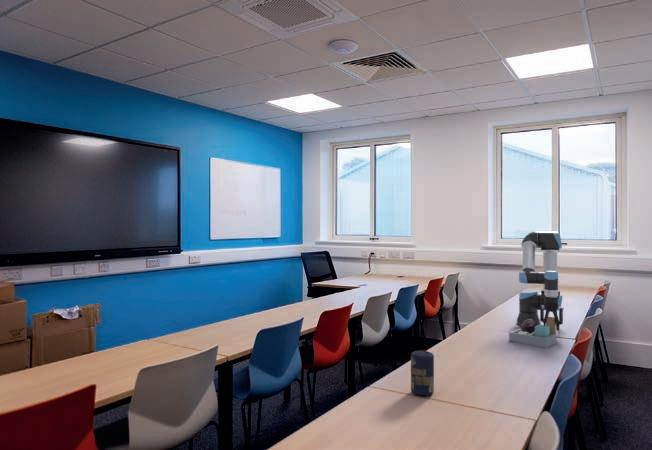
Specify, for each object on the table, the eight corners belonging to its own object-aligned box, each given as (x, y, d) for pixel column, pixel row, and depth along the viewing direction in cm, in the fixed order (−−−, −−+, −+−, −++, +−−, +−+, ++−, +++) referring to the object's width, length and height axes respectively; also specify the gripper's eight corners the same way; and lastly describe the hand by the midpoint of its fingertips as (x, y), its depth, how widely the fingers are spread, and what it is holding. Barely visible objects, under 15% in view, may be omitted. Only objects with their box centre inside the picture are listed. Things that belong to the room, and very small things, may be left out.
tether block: (548, 335, 280) (547, 316, 280) (558, 337, 276) (558, 317, 275) (535, 341, 267) (534, 321, 267) (545, 343, 263) (545, 322, 262)
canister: (408, 389, 195) (408, 347, 195) (429, 388, 196) (429, 347, 196) (414, 398, 185) (414, 354, 185) (437, 397, 186) (436, 353, 186)
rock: (518, 335, 290) (534, 337, 283) (516, 322, 289) (533, 324, 282) (525, 329, 298) (541, 331, 291) (523, 316, 297) (539, 318, 290)
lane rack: (519, 336, 281) (519, 328, 281) (555, 343, 266) (555, 334, 266) (509, 340, 272) (509, 332, 272) (546, 347, 256) (546, 339, 256)
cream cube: (519, 339, 275) (519, 331, 275) (528, 340, 272) (528, 332, 272) (517, 341, 271) (517, 332, 271) (526, 342, 268) (526, 334, 268)
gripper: (533, 295, 280) (533, 333, 280) (564, 298, 267) (564, 338, 267) (538, 293, 285) (538, 330, 285) (569, 297, 272) (569, 336, 272)
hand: (551, 334), depth 276 cm, fingers closed on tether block, 5 cm apart
